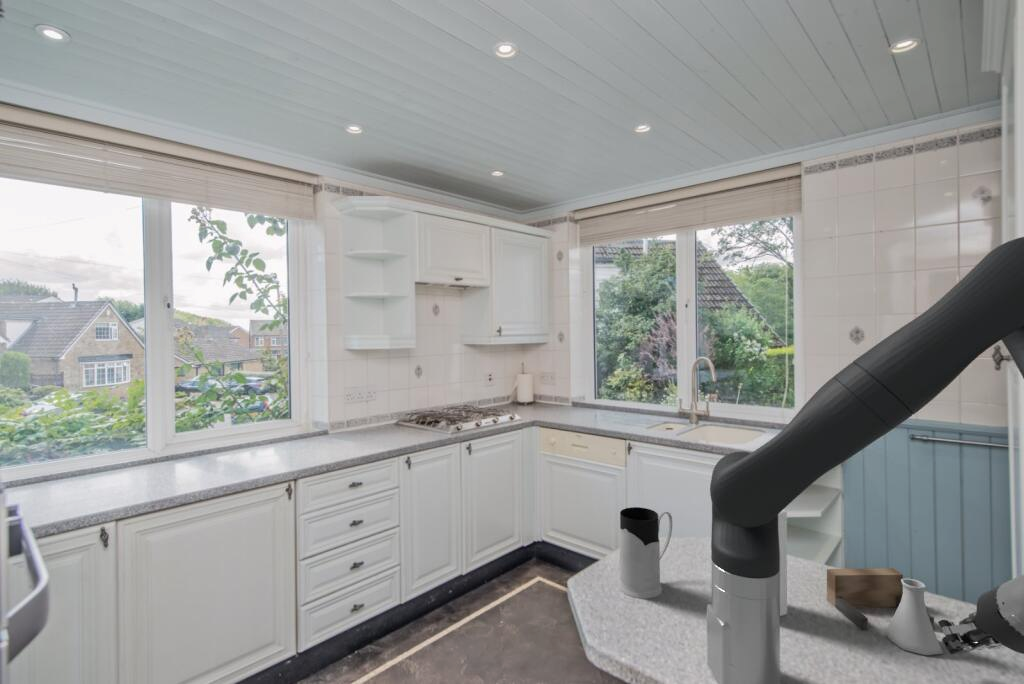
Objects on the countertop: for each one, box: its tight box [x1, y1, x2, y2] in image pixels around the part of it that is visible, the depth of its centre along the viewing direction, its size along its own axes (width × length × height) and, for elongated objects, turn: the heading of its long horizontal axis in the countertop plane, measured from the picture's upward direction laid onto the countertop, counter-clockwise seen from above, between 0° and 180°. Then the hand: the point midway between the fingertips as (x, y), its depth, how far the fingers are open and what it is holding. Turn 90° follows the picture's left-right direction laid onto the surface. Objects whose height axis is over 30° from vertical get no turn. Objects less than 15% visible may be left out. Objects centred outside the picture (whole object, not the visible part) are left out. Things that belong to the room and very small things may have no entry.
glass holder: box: [617, 506, 673, 600], centre depth 103 cm, size 9×14×15 cm, turn 123°
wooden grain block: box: [826, 567, 935, 631], centre depth 91 cm, size 12×10×6 cm
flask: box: [885, 577, 943, 656], centre depth 82 cm, size 7×7×10 cm
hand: (950, 646), depth 75 cm, fingers closed
